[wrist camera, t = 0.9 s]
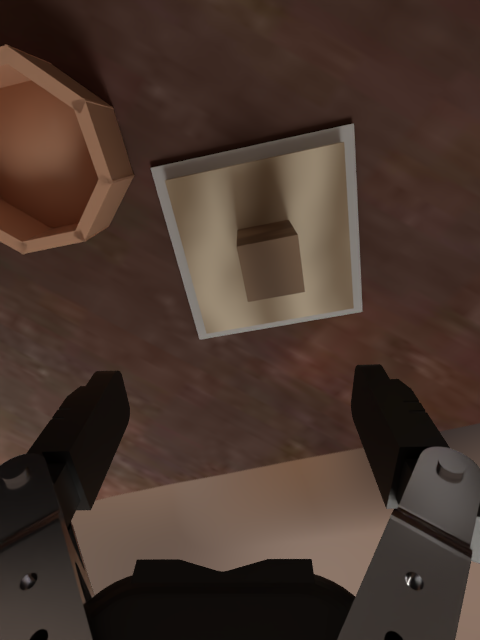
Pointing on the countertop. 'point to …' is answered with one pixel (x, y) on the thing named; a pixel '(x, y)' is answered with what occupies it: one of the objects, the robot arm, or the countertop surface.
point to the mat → (253, 154)
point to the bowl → (55, 157)
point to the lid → (267, 237)
